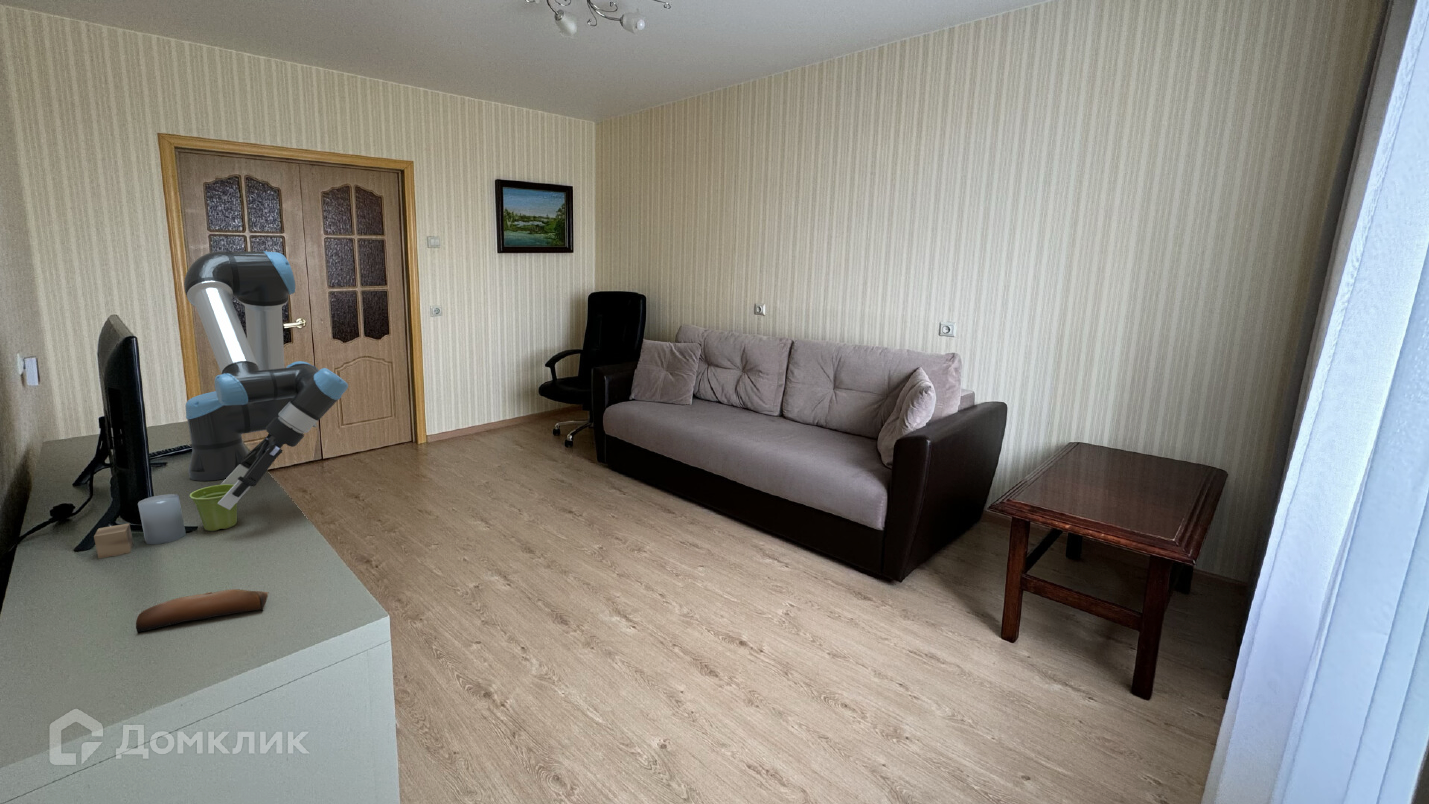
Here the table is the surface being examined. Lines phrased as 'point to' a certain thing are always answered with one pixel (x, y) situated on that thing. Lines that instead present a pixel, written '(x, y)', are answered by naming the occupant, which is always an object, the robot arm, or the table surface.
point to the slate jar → (161, 519)
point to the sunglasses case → (200, 607)
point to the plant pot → (214, 507)
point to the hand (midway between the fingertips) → (224, 497)
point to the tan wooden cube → (113, 540)
